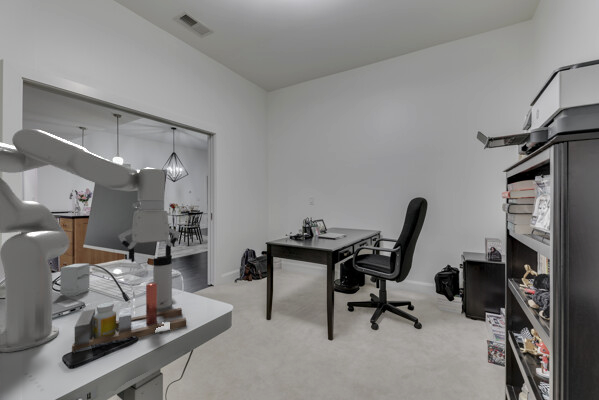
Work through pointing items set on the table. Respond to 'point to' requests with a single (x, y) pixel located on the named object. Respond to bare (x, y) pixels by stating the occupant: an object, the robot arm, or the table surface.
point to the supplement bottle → (104, 320)
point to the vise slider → (151, 312)
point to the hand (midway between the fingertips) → (150, 259)
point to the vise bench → (86, 328)
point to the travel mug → (163, 282)
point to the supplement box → (74, 279)
